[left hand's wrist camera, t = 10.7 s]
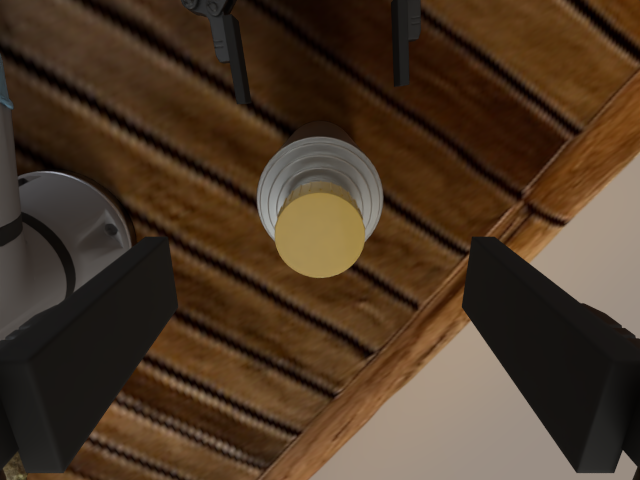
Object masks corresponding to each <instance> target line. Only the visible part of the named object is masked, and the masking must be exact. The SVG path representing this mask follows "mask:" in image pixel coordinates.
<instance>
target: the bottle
mask: <svg viewBox="0 0 640 480" xmlns="http://www.w3.org/2000/svg"><path fill="white" fill-rule="evenodd" d="M320 181H322V182H329V183H330V182H332V183H333V184H335V185H338V186H341V187H342V188H343V189H344V190H346V191H347V192H349V193H350V195H351V196H352V198H353V199H355V200H356V203H357V205H358V208H360V211H361V214H362V216H363V219H364V220H362V221H363V223H364V226H365V241H366V240H367V239H368V238H369V236H370V235H371V234H372V232H373V231H374V229H375V228H376V226H377V224H378V222H379V219H380V216H381V212H382V207H383V189H382V184H381V180H380V178H379V175H378V173H377V171H376V169H375V167H374V165H373V164H372V163H371V161H370V160H369V159H368V157H367V156H366V155H365V154H364V153H363V152H362V150H361V149H360V148H359V147H358V146H357V145H356V143H355V142H354V141H353V140H352V139H351V138H350V136H349V135H348V134H347V133H346V132H345V131H344V130H343V129H342V128H340V127H339V126H337V125H335V124H333V123H330V122H327V121H313V122H310V123H307V124H304V125H303V126H301V127H299V128H298V129H297V130H296V131H295V132H294V133H293V134H292V135H291V136H290V138H289V139H288V140H287V141H286V142H285V143H284V144H283V146H282V147H281V148H280V149H279V150H278V151H277V153H276V154H275V155H274V156H273V157H272V158H271V159H270V161H269V162H268V164H267V165H266V167H265V168H264V170H263V172H262V174H261V177H260V180H259V183H258V188H257V208H258V213H259V216H260V219H261V222H262V224H263V226H264V228H265V230H266V231H267V233H268V234H269V235H270V237H271V238H272V239H273V240H274V241H275V224H276V222H277V219H278V218H277V216H278V213H279V210H280V208H281V206H283V203H284V200H285V198H287V197H288V196H289V195H290V194H291V192H292V191H294V190H295V189H297V188H298V187H300V185H304V184H307V183H310V182H320Z"/></svg>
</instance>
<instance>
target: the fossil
mask: <svg viewBox="0 0 640 480" xmlns="http://www.w3.org/2000/svg"><path fill="white" fill-rule="evenodd" d="M3 470H4V472H5V475H6V479H7V480H26V479H27V475H28V473H26V472H25V469H24V467H23V464H22V461H21V459H20V456H19V453H18V452H17V453H16V454H15V455H14V456H13V457H12V459H11V460H10V461H9V462H8V463H7V464H6V465H5V467H4V468H3Z"/></svg>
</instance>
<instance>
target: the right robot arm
mask: <svg viewBox="0 0 640 480" xmlns="http://www.w3.org/2000/svg"><path fill="white" fill-rule="evenodd" d="M236 1H237V0H181V2H182V4H183V5H184V7H186V8H187V9H188V10H190V11H191V12H193V13H194V14H196V15H199V16H200V15H201V16H205V17H208V19H209V21H210V25H211V30H212V36H213V41H214V47H215V52H216V56H217V58H218V60H219V62H221V63H230V66H231V72H232V78H233V83H234V89H235V95H236V101H237V104H246V103H251V97H250V91H249V85H248V78H247V72H246V66H245V59H244V53H243V47H242V41H241V34H240V28H239V22H238V20H237V19H236V18H235V17H234V16H233V15H232V14H230V12H231V10H232V9H233V7H234V5H235V3H236ZM391 13H392V41H393V70H394V87H396V86H404V85H409V47H408V42H411V41H415V40H417V39H418V38H419V35H420V32H421V18H420V17H421V8H420V0H393V1H392V2H391ZM229 14H230V15H229Z"/></svg>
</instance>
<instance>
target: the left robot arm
mask: <svg viewBox="0 0 640 480" xmlns="http://www.w3.org/2000/svg"><path fill="white" fill-rule="evenodd" d="M11 109H14V105H13V102H12V101H11V100H10V99H9V95H8V90H7V85H6V79H5V73H4V67H3V61H2V57H1V54H0V480H7V479H6V475H5V472H4V470H3V468H4V467H5V465H6V464H7V463H8V462H9V461H10V460H11V459H12V457H13V456H14V455H15V454H16V453H17V452H18V453H19V456H20V459H21V461H22V464H23V467H24V469H25V472H26V473H64V471H65V470H66V468H67V467H68V465H69V464H70V463H71V461H72V460H73V458H74V457H75V455H76V454H77V452H78V451H79V450H80V448H81V447H82V445H83V444H84V442H85V441H86V439H87V438H88V437H89V435H90V434H91V432H92V431H93V429H94V428H95V426H96V425H97V424H98V422H99V421H100V419H101V418H102V416H103V415H104V413H105V412H106V411H107V409H108V408H109V406H110V405H111V403H112V402H113V400H114V399H115V398H116V396H117V395H118V393H119V392H120V390H121V389H122V387H123V386H124V385H125V383H126V382H127V380H128V379H129V377H130V376H131V374H132V373H133V372H134V370H135V369H136V367H137V366H138V364H139V363H140V361H141V360H142V359H143V357H144V356H145V354H146V353H147V351H148V350H149V348H150V347H151V346H152V344H153V343H154V341H155V340H156V338H157V337H158V335H159V334H160V333H161V331H162V330H163V328H164V327H165V325H166V324H167V322H168V321H169V320H170V318H171V317H172V315H173V314H174V312H175V311H176V309H177V308H178V302H177V295H176V288H175V282H174V275H173V268H172V261H171V255H170V248H169V241H168V237H145V238H143V239H142V240H141V241H140V242H138V243H137V244H136V236H135V231H134V228H133V225H132V222H131V220H130V218H129V216H128V214H127V212H126V211H125V209H124V208H123V206H122V205H121V204H120V202H119V201H118V200H117V199H116V198H115V197H114V196H113V195H112V194H111V193H110V192H109V191H108V190H107V189H105V188H104V187H103V186H101V185H100V184H98V183H97V182H95V181H93V180H92V179H90V178H88V177H86V176H83V175H81V174H78V173H75V172H71V171H66V170H59V169H47V170H40V171H35V172H31V173H27V174H24V175H21V176H17V167H16V156H15V146H14V135H13V124H12V114H11ZM462 308H463V309H464V311H465V312H466V314H467V315H468V317H469V318H470V320H471V321H472V322H473V324H474V325H475V327H476V328H477V330H478V331H479V332H480V334H481V335H482V337H483V338H484V340H485V341H486V343H487V344H488V346H489V347H490V348H491V350H492V351H493V353H494V354H495V356H496V357H497V359H498V360H499V361H500V363H501V364H502V366H503V367H504V369H505V370H506V372H507V373H508V374H509V376H510V377H511V379H512V380H513V382H514V383H515V385H516V386H517V387H518V389H519V390H520V392H521V393H522V395H523V396H524V398H525V399H526V400H527V402H528V403H529V405H530V406H531V408H532V409H533V411H534V412H535V413H536V415H537V416H538V418H539V419H540V421H541V422H542V424H543V425H544V426H545V428H546V429H547V431H548V432H549V434H550V435H551V437H552V438H553V439H554V441H555V442H556V444H557V445H558V447H559V448H560V450H561V451H562V452H563V454H564V455H565V457H566V458H567V460H568V461H569V463H570V464H571V465H572V467H573V468H574V470H575V471H576V473H614V472H615V469H616V467H617V464H618V461H619V459H620V456H621V453H622V450H623V451H624V452H625V453H626V454H627V455H628V456H629V457H630V459H631V460H632V461H633V462H634V463H635V464H636V465H637V470H636V472H635V475H634V477H633V480H640V339H638V338H636V337H635V335H634V334H632V333H631V332H630V331H628V330H627V329H626V328H622V326H621V325H620V324H619V323H617V322H616V321H615V320H613V319H612V318H611V317H609V316H608V315H607V314H605V313H603V312H601V311H599V310H597V309H595V308H593V307H590V306H588V305H586V304H584V303H579V302H578V301H577V300H575V299H574V298H573V297H572V296H570V295H569V294H568V293H566V292H565V291H564V290H563V289H561V288H560V287H559V286H557V285H556V284H555V283H554V282H552V281H551V280H550V279H548V278H547V277H546V276H544V275H543V274H542V273H541V272H539V271H538V270H537V269H535V268H534V267H533V266H531V265H530V264H529V263H528V262H526V261H525V260H524V259H522V258H521V257H520V256H519V255H517V254H516V253H515V252H513V251H512V250H511V249H510V248H508V247H507V246H506V245H504V244H503V243H502V242H500V241H499V240H498V239H497V238H495V237H472V241H471V248H470V255H469V261H468V268H467V275H466V282H465V288H464V295H463V302H462Z"/></svg>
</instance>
